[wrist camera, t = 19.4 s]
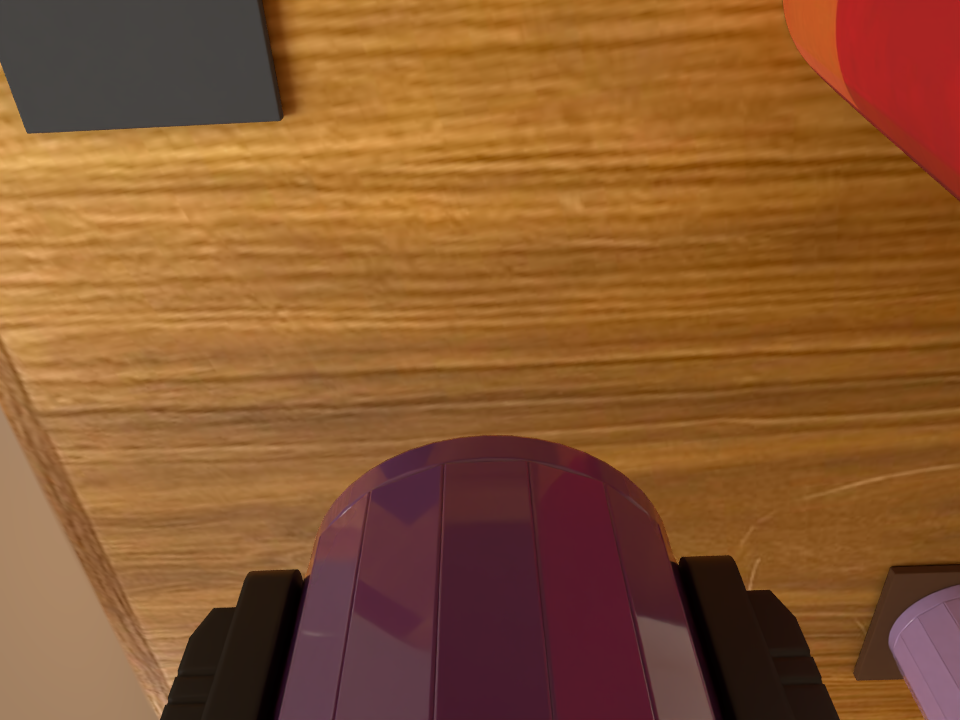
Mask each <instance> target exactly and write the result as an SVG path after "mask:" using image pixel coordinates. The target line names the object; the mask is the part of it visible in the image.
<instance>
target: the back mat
mask: <svg viewBox="0 0 960 720" xmlns="http://www.w3.org/2000/svg"><path fill="white" fill-rule="evenodd" d="M959 584H960V565H938V566H910V567H891V568H890V570H889V573H888V576H887V579H886V582H885V585H884V587H883V590H882V593H881V596H880V599H879V602H878V604H877V607H876V610H875V613H874V616H873V619H872V621H871V624H870V627H869V630H868V633H867V636H866V638H865V641H864V644H863V647H862V650H861V653H860V655H859V658H858V661H857V664H856V667H855V670H854V672H853V674H854V676H855V678H856V680H857V681H859V680H891V679H904V678H903V676H902V674H901V672H900V671H899V669H898V667H897V663H896V661H895V659H894V657H893V655H892V653H891V651H890V648H889V643H888V641H889V633H890V630H891V628H892V626H893V624H894V623H895V621H896V620H897V618H898V617H899V616H900V615H901V614H902V613H903V612H904V611H905V610H906V609H907V608H908V607H910V606H911V605H912V604H914V603H915V602H917V601H918V600H920V599H922V598H923V597H926V596H928V595H930V594H932V593H934V592H936V591H939V590H941V589H945V588H948V587H951V586H955V585H959Z"/></svg>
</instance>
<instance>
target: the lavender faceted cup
mask: <svg viewBox="0 0 960 720" xmlns="http://www.w3.org/2000/svg"><path fill="white" fill-rule="evenodd" d="M888 643H889V648H890V651H891V653H892V655H893V657H894V659H895V661H896V663H897V667H898V669H899V671H900V672H901V674H902V676H903V678H904V680H905V682H906V684H907V686H908V688H909V690H910V692H911V694H912V696H913V698H914V700H915V701H916V703H917V705H918V707H919V709H920V711H921V713H922V715H923V717H924V719H925V720H960V584H959V585H955V586H951V587H948V588H945V589H941V590H939V591H936V592H934V593H932V594H930V595H928V596H926V597H923V598H922V599H920V600H918V601H917V602H915V603H914V604H912V605H911V606H910V607H908V608H907V609H906V610H905V611H904V612H903V613H902V614H901V615H900V616H899V617H898V618H897V620H896V621H895V623H894V624H893V626H892V628H891V630H890V633H889V641H888Z"/></svg>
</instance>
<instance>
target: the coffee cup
mask: <svg viewBox="0 0 960 720" xmlns="http://www.w3.org/2000/svg"><path fill="white" fill-rule="evenodd" d="M783 7H784V14H785V19H786V23H787V26H788V29H789V32H790V35H791V37H792V39H793V41H794V43H795V45H796V47H797V49H798V51H799V52H800V54H801V55H802V57H803V58H804V59H805V60H806V62H807V63H808V64H809V65H810V66H811V67H812V68H813V70H814V71H815V72H816V73H817V74H818V75H819V76H820V77H821V78H822V79H823V80H824V81H825V82H826V83H827V84H828V85H830V86H831V87H832V88H833V89H834V90H835V91H836V92H837V93H838V94H839V95H840V96H841V97H842V98H843V99H844V100H846V101H847V102H848V103H849V104H850V105H851V106H852V107H853V108H854V109H856V110H857V111H858V112H859V113H860V114H861V115H862V116H863V117H864V118H866V119H867V120H868V121H869V122H870V123H871V124H872V125H873V126H875V127H876V128H877V129H878V130H879V131H880V132H881V133H882V134H884V135H885V136H886V137H887V138H888V139H889V140H890V141H892V142H893V143H894V144H895V145H896V146H897V147H898V148H900V149H901V150H902V151H903V152H904V153H905V154H906V155H907V156H909V157H910V158H911V159H912V160H913V161H914V162H915V163H917V164H918V165H919V166H920V167H921V168H922V169H923V170H925V171H926V172H927V173H928V174H929V175H930V176H931V177H933V178H934V179H935V180H936V181H937V182H938V183H939V184H941V185H942V186H943V187H944V188H945V189H946V190H947V191H949V192H950V193H951V194H952V195H953V196H954V197H956V198H957V199H958V200H959V201H960V0H783Z"/></svg>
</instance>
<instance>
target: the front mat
mask: <svg viewBox="0 0 960 720" xmlns="http://www.w3.org/2000/svg"><path fill="white" fill-rule="evenodd" d="M0 62H1V65H2V68H3V70H4V73H5V76H6V78H7V81H8V84H9V86H10V89H11V92H12V94H13V97H14V100H15V102H16V105H17V108H18V110H19V113H20V116H21V119H22V121H23V124H24V127H25V129H26V132H27V133H29V134H31V133H51V132H70V131H90V130H110V129H130V128H150V127H170V126H190V125H210V124H229V123H249V122H269V121H281V120H282V118H283V110H282V105H281V100H280V94H279V89H278V84H277V78H276V73H275V68H274V62H273V57H272V52H271V46H270V41H269V36H268V30H267V25H266V20H265V14H264V9H263V3H262V0H0Z"/></svg>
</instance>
